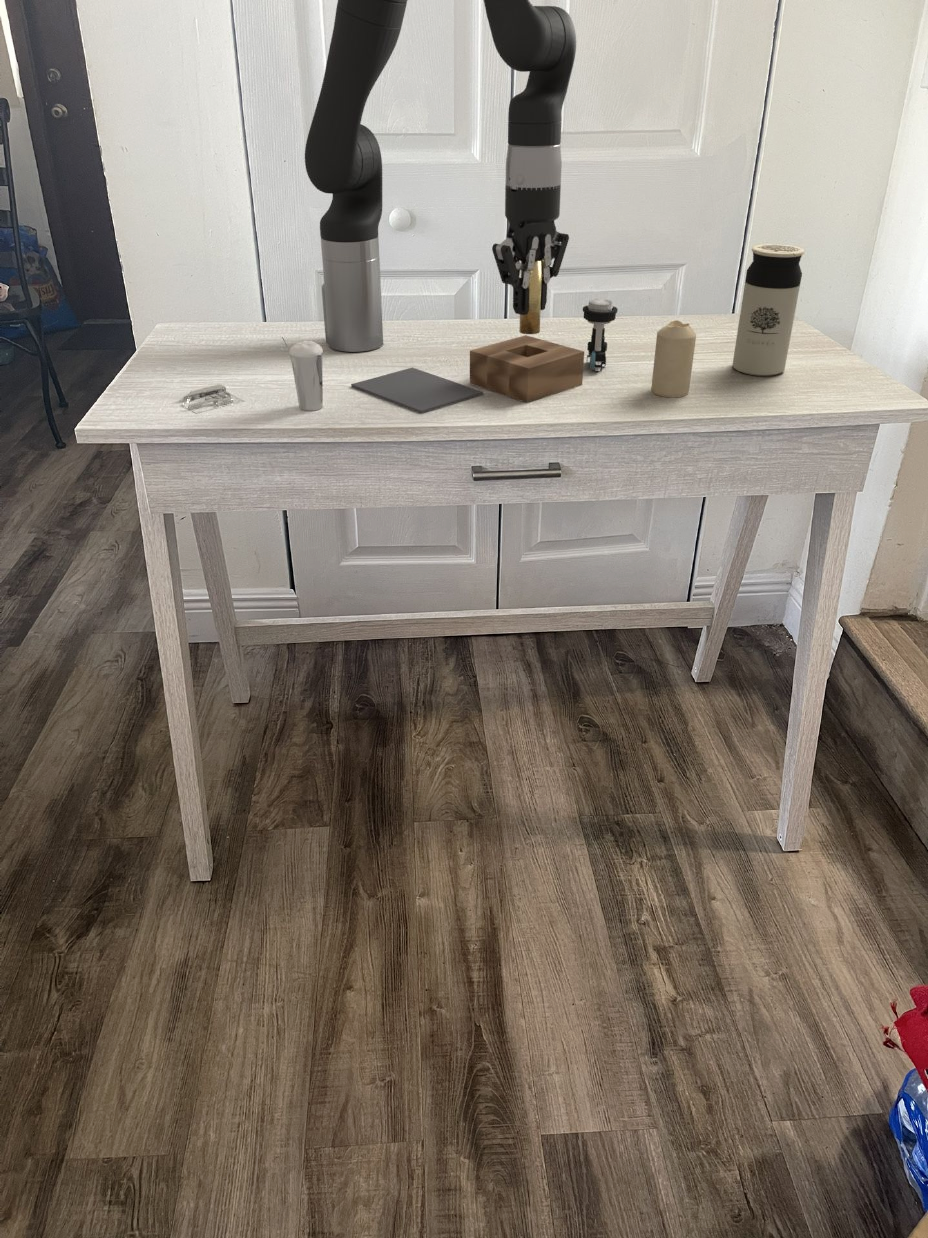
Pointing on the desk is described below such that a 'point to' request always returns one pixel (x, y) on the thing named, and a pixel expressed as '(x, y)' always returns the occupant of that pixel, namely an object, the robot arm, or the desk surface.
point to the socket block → (526, 368)
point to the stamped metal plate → (208, 397)
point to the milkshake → (308, 374)
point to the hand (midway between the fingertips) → (529, 310)
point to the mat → (417, 390)
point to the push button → (598, 330)
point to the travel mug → (768, 309)
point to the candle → (673, 360)
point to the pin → (533, 301)
